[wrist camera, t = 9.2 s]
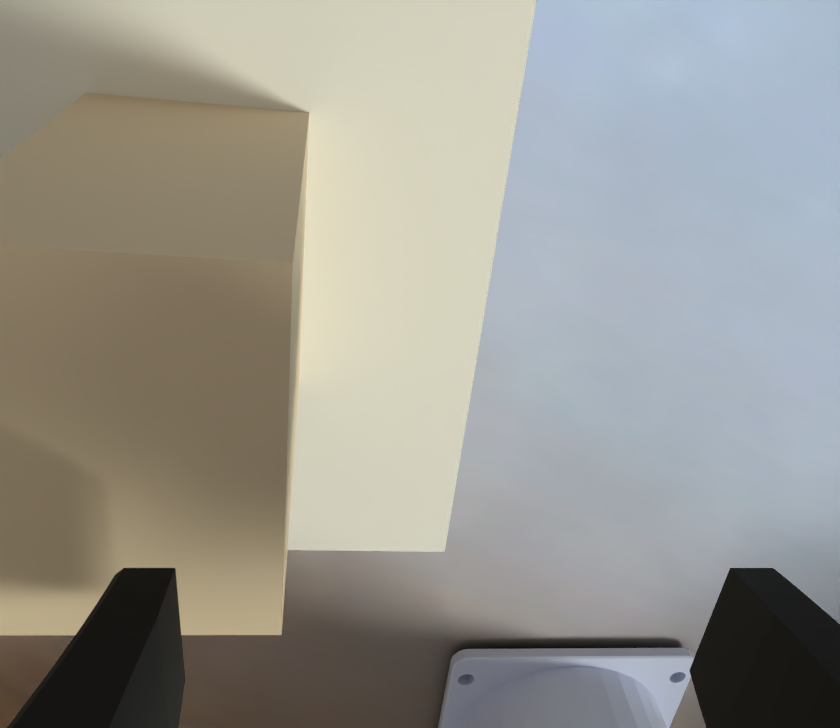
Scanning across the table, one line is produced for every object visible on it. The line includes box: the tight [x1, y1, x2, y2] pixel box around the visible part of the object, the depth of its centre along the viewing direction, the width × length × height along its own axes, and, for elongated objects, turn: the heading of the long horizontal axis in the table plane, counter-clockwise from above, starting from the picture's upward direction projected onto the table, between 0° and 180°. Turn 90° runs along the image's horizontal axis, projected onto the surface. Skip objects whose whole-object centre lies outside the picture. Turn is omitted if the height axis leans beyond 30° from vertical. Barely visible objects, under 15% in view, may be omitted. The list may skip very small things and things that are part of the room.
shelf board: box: [0, 0, 536, 552], centre depth 15 cm, size 16×14×4 cm
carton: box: [0, 93, 309, 635], centre depth 13 cm, size 4×6×7 cm
